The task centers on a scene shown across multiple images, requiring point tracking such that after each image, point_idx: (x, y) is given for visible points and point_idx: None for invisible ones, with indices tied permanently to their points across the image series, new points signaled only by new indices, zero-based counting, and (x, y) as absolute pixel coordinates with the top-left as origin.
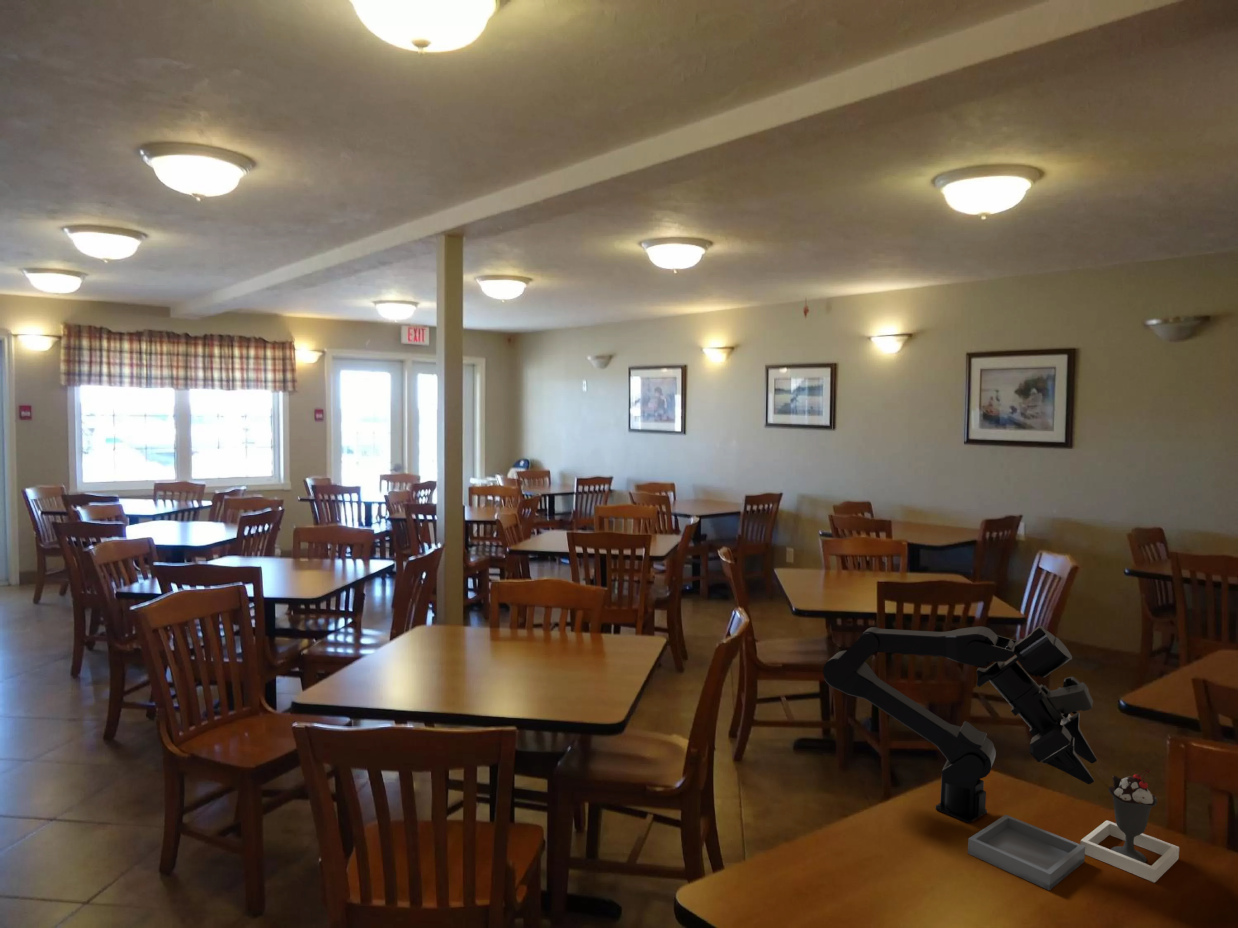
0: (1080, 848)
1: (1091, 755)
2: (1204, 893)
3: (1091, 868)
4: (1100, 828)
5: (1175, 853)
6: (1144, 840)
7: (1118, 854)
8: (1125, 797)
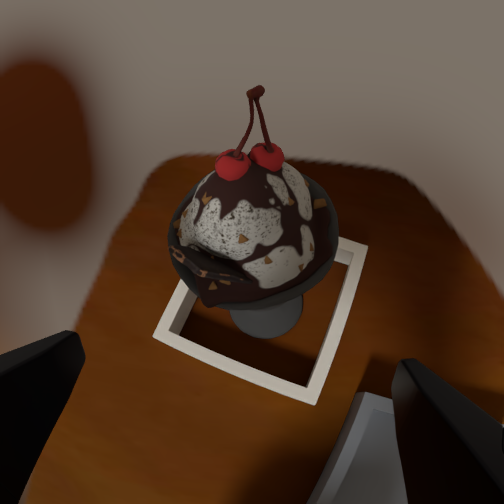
0: (384, 400)
1: (60, 355)
2: (343, 188)
3: (379, 376)
4: (210, 355)
5: None
6: None
7: (342, 317)
8: (308, 246)
